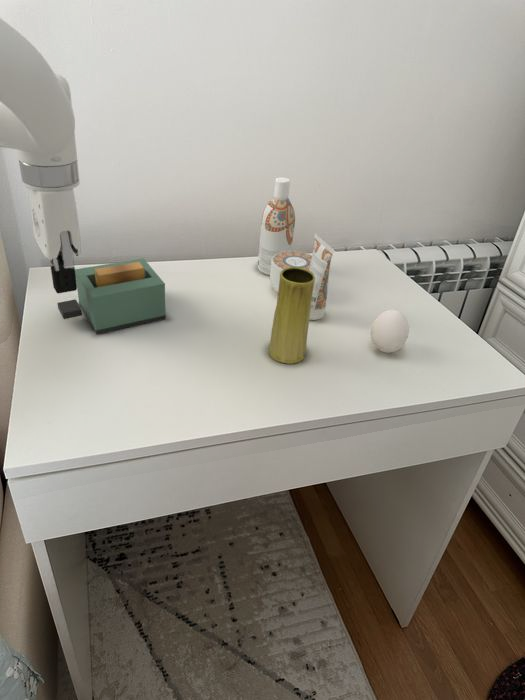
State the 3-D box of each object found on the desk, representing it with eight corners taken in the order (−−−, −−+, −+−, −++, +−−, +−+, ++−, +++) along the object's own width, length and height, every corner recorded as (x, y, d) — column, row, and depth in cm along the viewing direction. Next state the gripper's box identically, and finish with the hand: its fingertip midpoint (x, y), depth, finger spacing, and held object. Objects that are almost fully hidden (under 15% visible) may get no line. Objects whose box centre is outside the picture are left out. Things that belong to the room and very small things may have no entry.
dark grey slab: (63, 319, 86) (62, 313, 85) (58, 308, 88) (57, 302, 87) (82, 315, 87) (81, 309, 86) (76, 305, 89) (75, 299, 89)
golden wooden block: (102, 315, 90) (98, 275, 85) (98, 308, 91) (94, 268, 87) (146, 307, 93) (144, 267, 89) (141, 300, 95) (139, 261, 90)
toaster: (96, 334, 87) (92, 297, 82) (79, 305, 93) (74, 269, 89) (165, 319, 92) (165, 283, 88) (145, 292, 99) (143, 258, 95)
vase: (294, 339, 90) (305, 263, 82) (312, 359, 86) (326, 281, 78) (261, 346, 88) (270, 268, 80) (278, 367, 84) (289, 287, 75)
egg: (361, 340, 92) (370, 302, 88) (394, 338, 93) (405, 301, 89) (374, 361, 87) (384, 322, 83) (408, 359, 88) (420, 320, 84)
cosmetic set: (342, 321, 96) (363, 223, 85) (296, 328, 93) (311, 227, 82) (286, 260, 115) (297, 173, 104) (246, 264, 112) (253, 174, 101)
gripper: (10, 158, 77) (30, 273, 87) (33, 192, 67) (52, 317, 77) (64, 155, 81) (76, 266, 91) (93, 187, 70) (103, 307, 81)
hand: (65, 289), depth 84 cm, fingers closed
